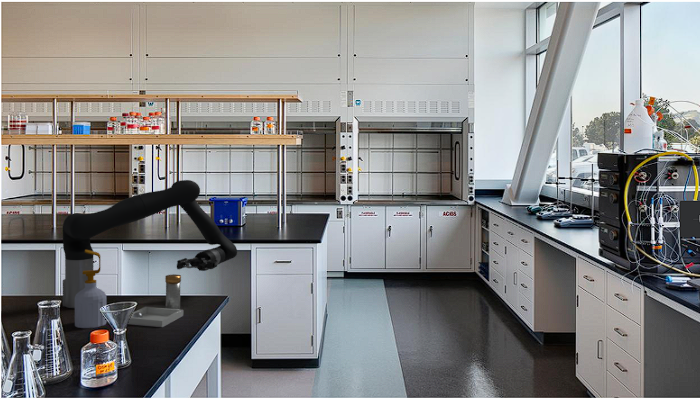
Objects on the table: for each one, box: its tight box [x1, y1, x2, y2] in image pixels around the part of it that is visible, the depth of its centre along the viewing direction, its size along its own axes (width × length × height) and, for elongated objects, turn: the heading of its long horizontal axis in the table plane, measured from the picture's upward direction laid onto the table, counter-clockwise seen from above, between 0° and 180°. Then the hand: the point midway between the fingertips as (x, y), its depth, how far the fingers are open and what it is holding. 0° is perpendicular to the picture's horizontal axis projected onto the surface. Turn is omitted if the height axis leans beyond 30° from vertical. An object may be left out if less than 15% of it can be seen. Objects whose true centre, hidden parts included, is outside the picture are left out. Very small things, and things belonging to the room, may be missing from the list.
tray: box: [127, 306, 184, 328], centre depth 188 cm, size 14×14×3 cm
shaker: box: [164, 274, 182, 310], centre depth 201 cm, size 5×5×13 cm
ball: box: [133, 312, 143, 318], centre depth 186 cm, size 3×3×3 cm
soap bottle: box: [74, 250, 107, 329], centre depth 181 cm, size 9×9×25 cm
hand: (188, 267), depth 211 cm, fingers open, 8 cm apart
